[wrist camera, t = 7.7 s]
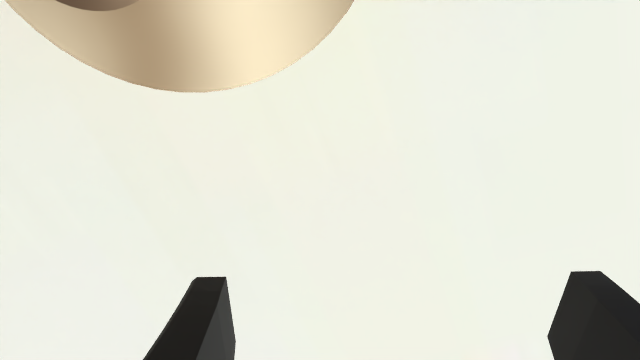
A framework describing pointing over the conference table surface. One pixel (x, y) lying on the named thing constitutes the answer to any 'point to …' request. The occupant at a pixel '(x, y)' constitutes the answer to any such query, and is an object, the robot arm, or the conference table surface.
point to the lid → (185, 37)
